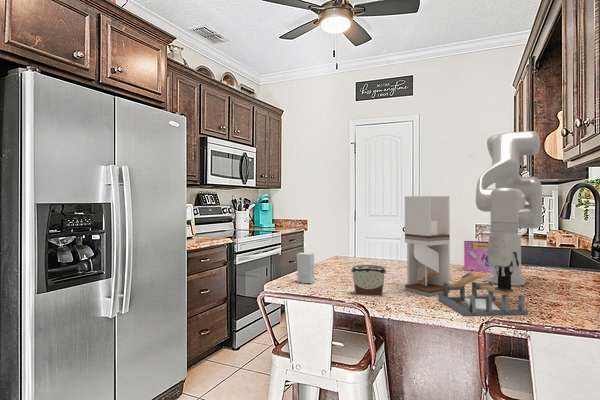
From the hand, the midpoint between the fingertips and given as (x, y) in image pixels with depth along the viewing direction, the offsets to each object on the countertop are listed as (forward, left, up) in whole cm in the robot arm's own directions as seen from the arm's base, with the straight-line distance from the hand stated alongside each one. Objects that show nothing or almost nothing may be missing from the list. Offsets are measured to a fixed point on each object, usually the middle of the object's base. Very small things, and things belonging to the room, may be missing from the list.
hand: (504, 288), depth 118 cm
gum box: (-62, +32, -7) cm, 70 cm away
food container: (-25, -35, -7) cm, 44 cm away
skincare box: (-45, -57, -7) cm, 72 cm away
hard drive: (-5, -4, -7) cm, 10 cm away
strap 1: (-5, -10, 0) cm, 11 cm away
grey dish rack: (-5, -5, -7) cm, 9 cm away
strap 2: (-5, 0, -3) cm, 6 cm away
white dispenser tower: (-26, -14, -7) cm, 30 cm away
